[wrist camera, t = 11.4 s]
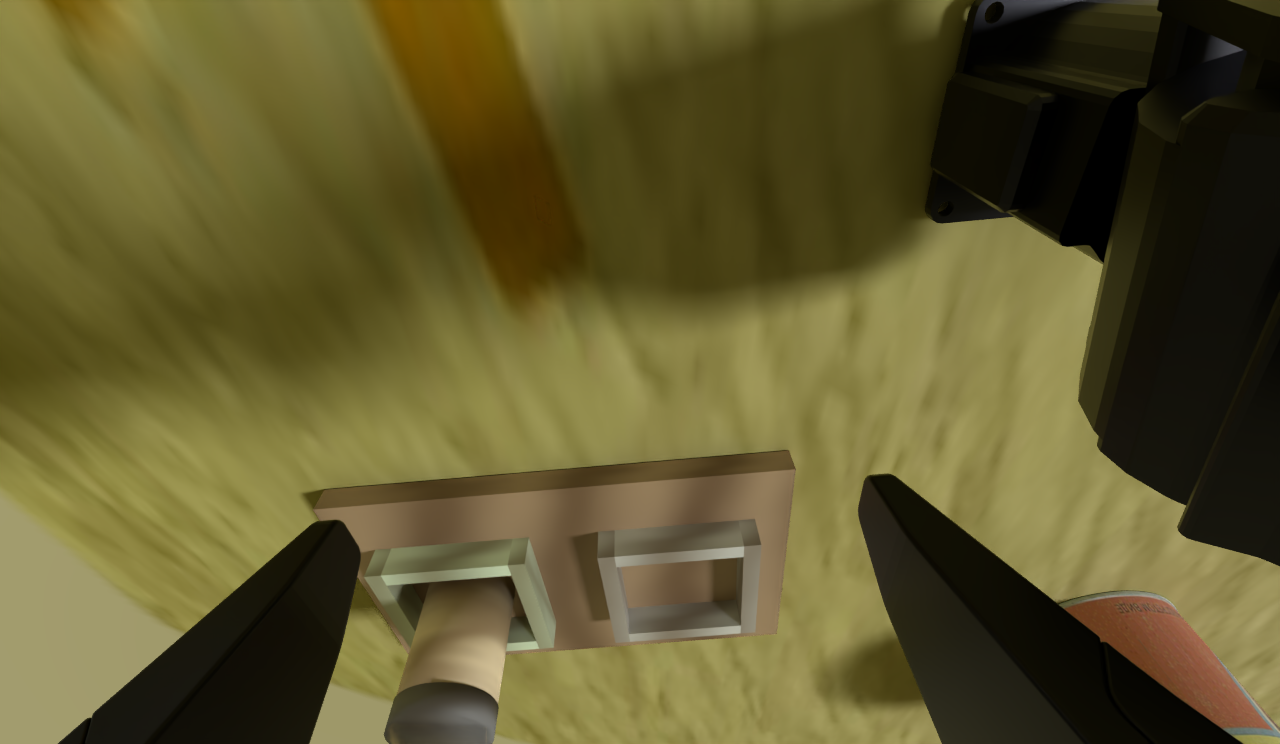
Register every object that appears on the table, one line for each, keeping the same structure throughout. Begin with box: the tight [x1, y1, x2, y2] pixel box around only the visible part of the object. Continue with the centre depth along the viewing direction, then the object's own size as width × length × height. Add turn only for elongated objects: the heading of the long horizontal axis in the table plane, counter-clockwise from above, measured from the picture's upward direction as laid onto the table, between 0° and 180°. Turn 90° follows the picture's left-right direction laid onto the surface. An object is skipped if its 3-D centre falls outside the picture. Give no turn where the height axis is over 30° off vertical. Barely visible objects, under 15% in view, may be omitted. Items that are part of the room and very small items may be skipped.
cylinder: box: [384, 576, 515, 744], centre depth 26 cm, size 4×4×7 cm
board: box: [313, 451, 796, 655], centre depth 29 cm, size 22×14×3 cm, turn 95°
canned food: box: [1059, 591, 1280, 744], centre depth 32 cm, size 11×11×12 cm
